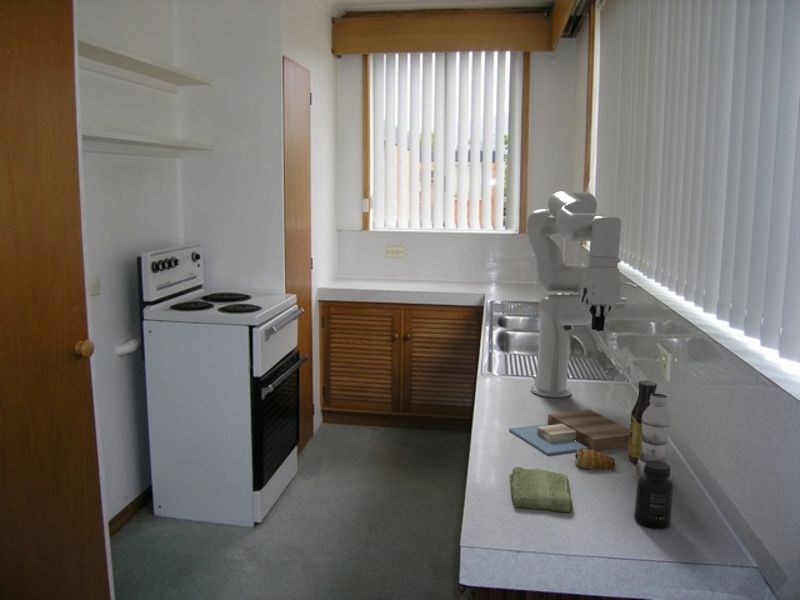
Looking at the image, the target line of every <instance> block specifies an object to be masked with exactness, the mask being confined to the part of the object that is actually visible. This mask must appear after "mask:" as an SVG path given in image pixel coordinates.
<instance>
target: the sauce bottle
mask: <svg viewBox="0 0 800 600" xmlns="http://www.w3.org/2000/svg"><path fill="white" fill-rule="evenodd" d="M657 386H658V385H657V382H655V381H652V380H639V381H638V386H637V387H638V396H637V400H636V402H635V405H634V406H633V408H632V410H631V413H630V414H631V415H630V425H629V429H630V434H629V446H627V447H628V449H627V453H628V455H627V458H628V460H629V461H631V462H633V463H635V464H637V462H638V459H639V456H640V451H641V446H642V415H643V412H644V411H645V410H646V409H647V408H648V407H649V406H650V403H649V400H650V395H651V394H653V393H656V391H657Z"/></svg>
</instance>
